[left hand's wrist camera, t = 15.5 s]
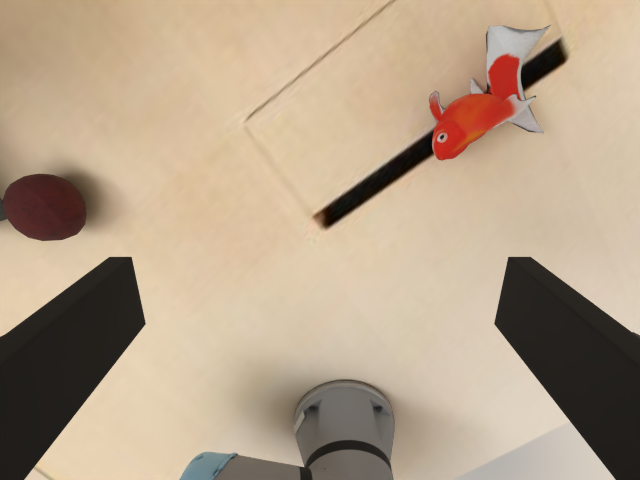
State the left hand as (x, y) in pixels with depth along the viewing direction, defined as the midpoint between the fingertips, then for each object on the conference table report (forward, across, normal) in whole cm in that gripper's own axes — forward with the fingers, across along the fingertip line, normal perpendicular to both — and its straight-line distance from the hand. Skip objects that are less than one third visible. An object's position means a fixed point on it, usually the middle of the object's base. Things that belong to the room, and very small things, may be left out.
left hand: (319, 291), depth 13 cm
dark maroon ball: (+31, +30, +5) cm, 43 cm away
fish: (+31, -17, -7) cm, 36 cm away
